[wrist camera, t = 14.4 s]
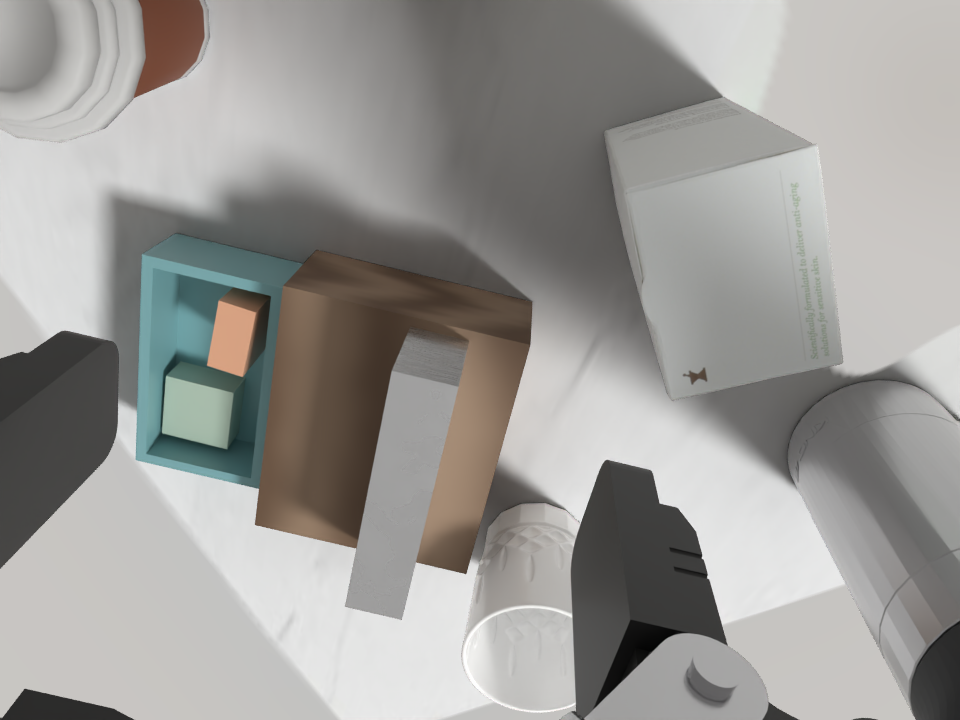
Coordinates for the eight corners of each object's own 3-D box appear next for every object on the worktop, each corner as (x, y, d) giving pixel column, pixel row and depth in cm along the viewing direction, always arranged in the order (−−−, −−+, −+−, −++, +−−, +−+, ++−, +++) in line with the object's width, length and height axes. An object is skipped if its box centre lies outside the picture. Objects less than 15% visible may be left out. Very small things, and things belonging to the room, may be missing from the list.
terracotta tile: (255, 312, 40) (218, 300, 40) (242, 377, 42) (206, 365, 41) (280, 286, 43) (246, 275, 43) (266, 346, 45) (234, 336, 45)
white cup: (460, 508, 50) (441, 620, 41) (578, 481, 48) (585, 592, 39) (497, 599, 53) (486, 722, 44) (609, 577, 51) (622, 700, 42)
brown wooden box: (532, 301, 43) (530, 345, 38) (475, 511, 50) (466, 574, 44) (316, 249, 43) (283, 285, 37) (287, 467, 49) (254, 524, 44)
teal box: (305, 264, 43) (283, 288, 40) (281, 452, 49) (259, 488, 45) (175, 233, 43) (141, 254, 39) (166, 426, 49) (135, 459, 45)
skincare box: (748, 247, 41) (854, 375, 27) (625, 276, 42) (665, 413, 28) (725, 87, 38) (831, 138, 24) (593, 124, 39) (618, 193, 25)
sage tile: (166, 375, 44) (180, 361, 46) (161, 433, 46) (176, 416, 48) (233, 393, 44) (245, 377, 46) (226, 449, 46) (239, 432, 48)
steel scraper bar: (469, 341, 38) (458, 386, 33) (416, 556, 44) (401, 619, 39) (410, 326, 38) (391, 370, 33) (365, 544, 44) (344, 606, 39)
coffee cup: (162, -129, 36) (-7, -186, 25) (271, 57, 39) (164, 78, 28) (20, -26, 38) (-189, -36, 27) (134, 141, 41) (-13, 191, 30)
